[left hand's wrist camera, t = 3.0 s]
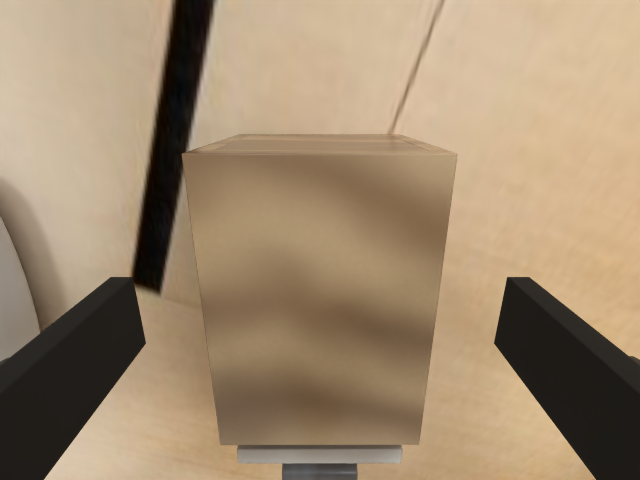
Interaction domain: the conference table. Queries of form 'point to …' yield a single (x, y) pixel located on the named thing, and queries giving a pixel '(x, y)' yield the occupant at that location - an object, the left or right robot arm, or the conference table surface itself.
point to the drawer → (319, 459)
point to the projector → (14, 301)
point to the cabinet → (319, 283)
